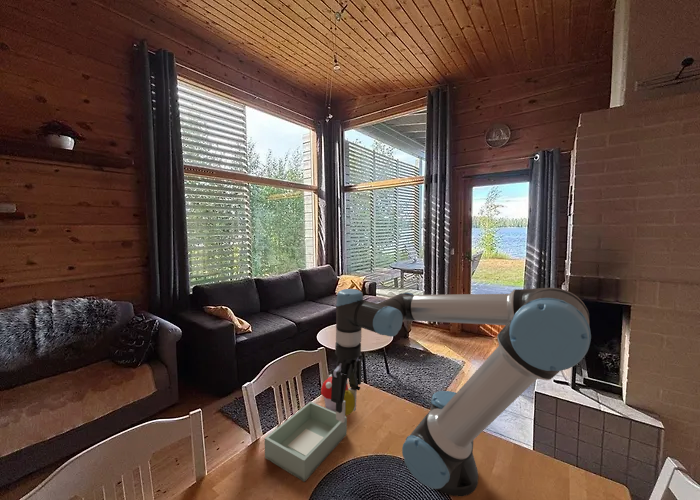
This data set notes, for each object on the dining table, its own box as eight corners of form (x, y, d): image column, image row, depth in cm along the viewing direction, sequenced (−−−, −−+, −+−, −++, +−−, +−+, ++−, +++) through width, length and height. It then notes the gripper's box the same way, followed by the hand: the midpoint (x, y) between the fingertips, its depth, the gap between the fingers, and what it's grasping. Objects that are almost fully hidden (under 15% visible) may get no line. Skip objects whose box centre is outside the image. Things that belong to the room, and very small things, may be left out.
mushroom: (337, 395, 125) (337, 367, 123) (354, 408, 116) (355, 378, 115) (315, 405, 118) (315, 376, 117) (332, 420, 110) (332, 388, 108)
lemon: (352, 422, 89) (353, 397, 88) (334, 419, 91) (335, 394, 90) (355, 411, 95) (357, 387, 94) (338, 407, 96) (339, 384, 95)
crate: (346, 434, 102) (346, 416, 102) (304, 482, 84) (304, 460, 84) (310, 418, 111) (310, 401, 110) (264, 457, 92) (264, 438, 92)
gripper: (354, 329, 99) (352, 395, 102) (318, 350, 84) (317, 427, 87) (374, 334, 95) (371, 403, 98) (341, 357, 80) (338, 438, 83)
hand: (346, 414), depth 93 cm, fingers closed on lemon, 5 cm apart
